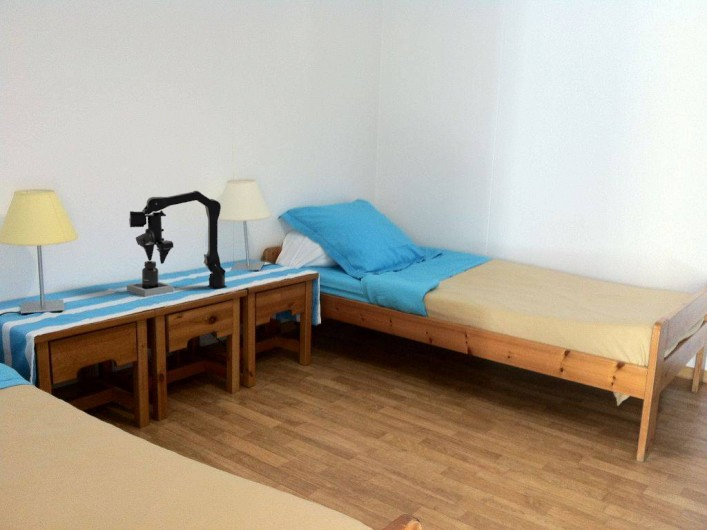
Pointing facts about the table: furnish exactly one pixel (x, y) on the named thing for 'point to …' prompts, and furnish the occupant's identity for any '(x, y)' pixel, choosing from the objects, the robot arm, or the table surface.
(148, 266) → the supplement bottle
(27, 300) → the table surface
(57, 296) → the table surface
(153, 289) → the tray
